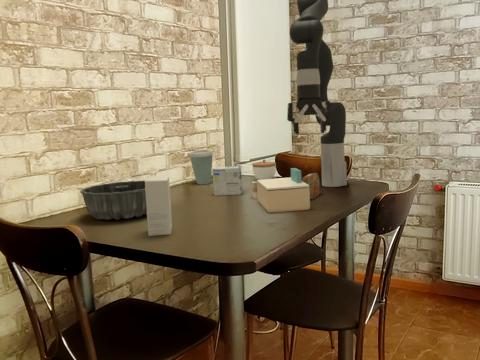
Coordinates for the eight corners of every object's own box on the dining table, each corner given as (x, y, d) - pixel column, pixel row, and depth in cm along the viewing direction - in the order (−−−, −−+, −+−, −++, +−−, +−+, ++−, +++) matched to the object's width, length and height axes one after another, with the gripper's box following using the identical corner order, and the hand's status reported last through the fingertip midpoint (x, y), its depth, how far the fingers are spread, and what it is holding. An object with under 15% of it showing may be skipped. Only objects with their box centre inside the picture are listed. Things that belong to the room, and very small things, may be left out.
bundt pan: (81, 213, 171) (78, 185, 170) (155, 203, 180) (153, 177, 179) (85, 229, 147) (82, 196, 145) (171, 217, 156) (169, 186, 154)
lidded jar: (251, 182, 218) (250, 161, 216) (254, 178, 228) (253, 158, 227) (275, 181, 216) (274, 160, 214) (277, 177, 226) (276, 157, 225)
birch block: (263, 196, 183) (263, 180, 182) (266, 198, 179) (265, 182, 178) (252, 197, 182) (251, 181, 182) (254, 199, 178) (253, 183, 177)
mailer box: (295, 198, 174) (294, 179, 173) (310, 209, 156) (309, 187, 154) (257, 201, 172) (256, 182, 171) (268, 213, 154) (267, 191, 153)
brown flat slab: (309, 201, 169) (308, 177, 167) (300, 201, 170) (299, 177, 169) (321, 193, 182) (320, 171, 181) (313, 193, 183) (312, 171, 182)
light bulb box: (242, 191, 195) (241, 165, 193) (240, 195, 188) (239, 167, 186) (216, 192, 196) (214, 166, 194) (213, 196, 189) (211, 168, 188)
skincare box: (151, 229, 142) (146, 176, 139) (173, 227, 142) (169, 174, 140) (148, 236, 133) (143, 180, 131) (172, 234, 134) (167, 178, 132)
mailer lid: (294, 178, 173) (294, 165, 172) (309, 186, 154) (308, 172, 154) (256, 181, 171) (256, 168, 171) (267, 190, 153) (266, 175, 152)
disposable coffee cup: (214, 184, 217) (211, 151, 215) (189, 185, 217) (187, 152, 215) (215, 181, 227) (213, 149, 225) (192, 182, 228) (190, 150, 225)
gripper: (326, 83, 163) (327, 132, 166) (284, 85, 162) (286, 134, 164) (332, 82, 156) (333, 133, 158) (288, 84, 155) (290, 135, 157)
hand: (309, 133), depth 161 cm, fingers open, 8 cm apart
